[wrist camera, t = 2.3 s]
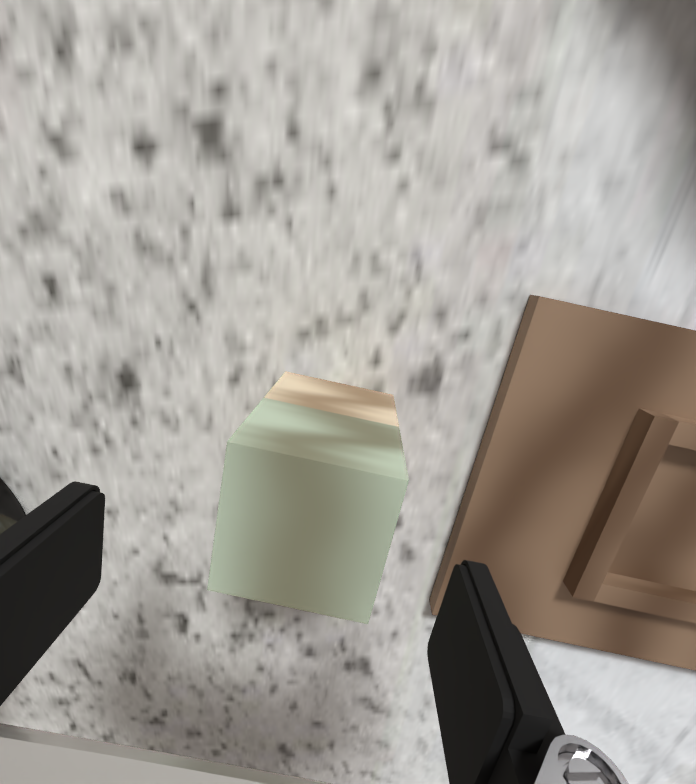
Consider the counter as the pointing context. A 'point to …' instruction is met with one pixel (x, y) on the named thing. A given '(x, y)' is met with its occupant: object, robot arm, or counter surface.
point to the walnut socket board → (589, 485)
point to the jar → (8, 508)
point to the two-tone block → (310, 499)
